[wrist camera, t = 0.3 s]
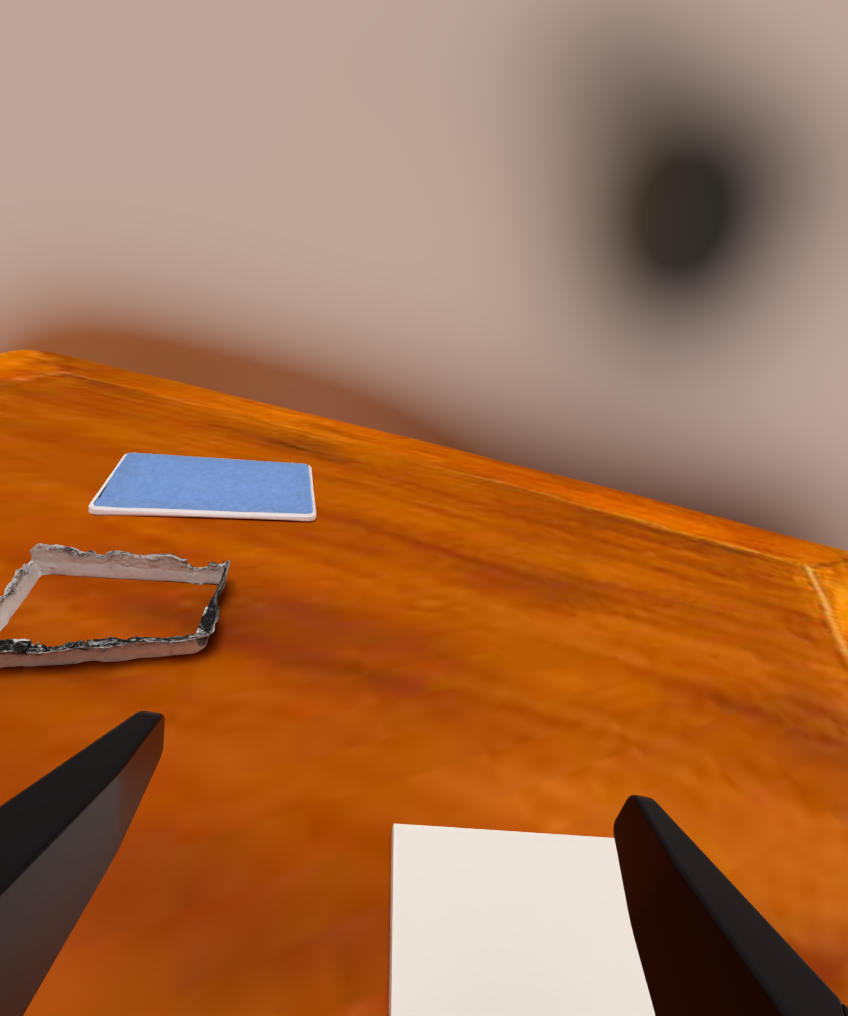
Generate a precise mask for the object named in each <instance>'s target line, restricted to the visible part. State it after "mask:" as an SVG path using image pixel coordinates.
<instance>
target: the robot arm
mask: <svg viewBox="0 0 848 1016" xmlns="http://www.w3.org/2000/svg"><path fill="white" fill-rule="evenodd" d="M164 725H165V718H164V716H163V714H160V713H155V712H149V711H140V712H137V713H136V714H134V715H133V716H131V717H130V718H128V719H127V720H125V721H124V722H123V723H121V724H120V725H118V726H117V727H115V728H114V729H112V730H111V731H109V732H108V733H106V734H105V735H104V736H102V737H101V738H99V739H98V740H96V741H95V742H93V743H92V744H90V745H89V746H87V747H86V748H85V749H83V750H82V751H80V752H79V753H77V754H76V755H74V756H73V757H71V758H70V759H69V760H67V761H66V762H64V763H63V764H61V765H60V766H58V767H57V768H55V769H54V770H52V771H51V772H50V773H48V774H47V775H45V776H44V777H42V778H41V779H39V780H38V781H36V782H35V783H34V784H32V785H31V786H29V787H28V788H26V789H25V790H23V791H22V792H20V793H19V794H17V795H16V796H15V797H13V798H12V799H10V800H9V801H7V802H6V803H4V804H3V805H1V806H0V1016H23V1015H24V1013H25V1011H26V1009H27V1008H28V1006H29V1004H30V1002H31V1001H32V999H33V997H34V996H35V994H36V992H37V990H38V989H39V987H40V985H41V983H42V982H43V980H44V978H45V976H46V975H47V973H48V971H49V970H50V968H51V966H52V964H53V963H54V961H55V959H56V957H57V956H58V954H59V952H60V951H61V949H62V947H63V945H64V944H65V942H66V940H67V938H68V937H69V935H70V933H71V931H72V930H73V928H74V926H75V925H76V923H77V921H78V919H79V918H80V916H81V914H82V912H83V911H84V909H85V907H86V906H87V904H88V902H89V900H90V899H91V897H92V895H93V893H94V892H95V890H96V888H97V886H98V885H99V883H100V881H101V880H102V878H103V876H104V874H105V873H106V871H107V869H108V867H109V866H110V864H111V862H112V860H113V858H114V856H115V855H116V853H117V851H118V849H119V847H120V845H121V843H122V840H123V838H124V836H125V834H126V832H127V830H128V828H129V825H130V823H131V821H132V819H133V817H134V814H135V812H136V810H137V808H138V806H139V804H140V801H141V799H142V797H143V795H144V793H145V790H146V788H147V786H148V784H149V782H150V780H151V777H152V775H153V773H154V771H155V769H156V766H157V764H158V762H159V760H160V757H161V754H162V750H163V742H164ZM614 839H615V844H616V850H617V855H618V860H619V866H620V871H621V876H622V882H623V887H624V893H625V898H626V903H627V909H628V914H629V918H630V923H631V927H632V931H633V935H634V939H635V943H636V947H637V950H638V954H639V957H640V961H641V965H642V968H643V972H644V976H645V979H646V983H647V987H648V990H649V994H650V998H651V1001H652V1005H653V1009H654V1012H655V1016H848V1007H847V1006H846V1005H844V1004H841V1001H840V999H839V998H838V997H837V996H836V995H835V993H834V992H833V991H832V990H831V989H830V988H829V987H828V986H827V985H826V984H825V983H824V982H823V981H822V979H821V978H820V977H819V976H818V975H817V974H816V973H815V972H814V971H813V970H812V969H811V968H810V967H809V966H808V964H807V963H806V962H805V961H804V960H803V959H802V958H801V957H800V956H799V955H798V954H797V953H796V952H795V951H794V949H793V948H792V947H791V946H790V945H789V944H788V943H787V942H786V941H785V940H784V939H783V938H782V937H781V936H780V934H779V933H778V932H777V931H776V930H775V929H774V928H773V927H772V926H771V925H770V924H769V923H768V922H767V921H766V919H765V918H764V917H763V916H762V915H761V914H760V913H759V912H758V911H757V910H756V909H755V908H754V907H753V905H752V904H751V903H750V902H749V901H748V900H747V899H746V898H745V897H744V896H743V895H742V894H741V893H740V892H739V890H738V889H737V888H736V887H735V886H734V885H733V884H732V883H731V882H730V881H729V880H728V879H727V878H726V877H725V875H724V874H723V873H722V872H721V871H720V870H719V869H718V868H717V867H716V866H715V865H714V864H713V863H712V862H711V860H710V859H709V858H708V857H707V856H706V855H705V854H704V853H703V852H702V851H701V850H700V849H699V848H698V847H697V845H696V844H695V843H694V842H693V841H692V840H691V839H690V838H689V837H688V836H687V835H686V834H685V833H684V831H683V830H682V829H681V828H680V827H679V826H678V825H677V824H676V823H675V822H674V821H673V820H672V819H671V818H670V816H669V815H668V814H667V813H666V812H665V811H664V810H663V809H662V808H661V807H660V806H659V805H658V804H657V803H656V802H655V801H654V800H653V799H651V798H649V797H644V796H638V795H631V796H630V797H628V799H627V800H626V802H625V804H624V806H623V807H622V809H621V811H620V813H619V815H618V816H617V818H616V820H615V823H614Z"/></svg>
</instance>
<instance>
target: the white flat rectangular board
mask: <svg viewBox="0 0 848 1016" xmlns="http://www.w3.org/2000/svg"><path fill="white" fill-rule="evenodd" d="M389 1016H655V1012H654V1009H653V1005H652V1001H651V998H650V994H649V990H648V987H647V983H646V979H645V976H644V972H643V968H642V965H641V961H640V957H639V954H638V950H637V947H636V943H635V939H634V935H633V931H632V927H631V923H630V918H629V914H628V909H627V903H626V898H625V893H624V887H623V882H622V876H621V871H620V866H619V860H618V855H617V850H616V844H615V839H614V838H605V837H590V836H575V835H559V834H544V833H529V832H514V831H498V830H483V829H468V828H453V827H438V826H422V825H407V824H393V828H392V849H391V911H390V973H389Z"/></svg>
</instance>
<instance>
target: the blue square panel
mask: <svg viewBox="0 0 848 1016" xmlns="http://www.w3.org/2000/svg"><path fill="white" fill-rule="evenodd" d="M88 511H89V513H91V514H94V515H115V516H170V517H201V518H232V519H265V520H291V521H314V520H315V519H316V507H315V499H314V489H313V479H312V469H311V467H310V466H309V465H307V464H301V463H285V462H268V461H253V460H237V459H223V458H206V457H191V456H176V455H161V454H145V453H128V454H125V455H124V456H123V457H122V459H121V460H120V462H119V463H118V465H117V466H116V467H115V469H114V470H113V472H112V473H111V474H110V476H109V477H108V479H107V480H106V482H105V483H104V484H103V486H102V487H101V489H100V490H99V491H98V493H97V494H96V496H95V497H94V499H93V500H92V501H91V503H90V504H89V510H88Z"/></svg>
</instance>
